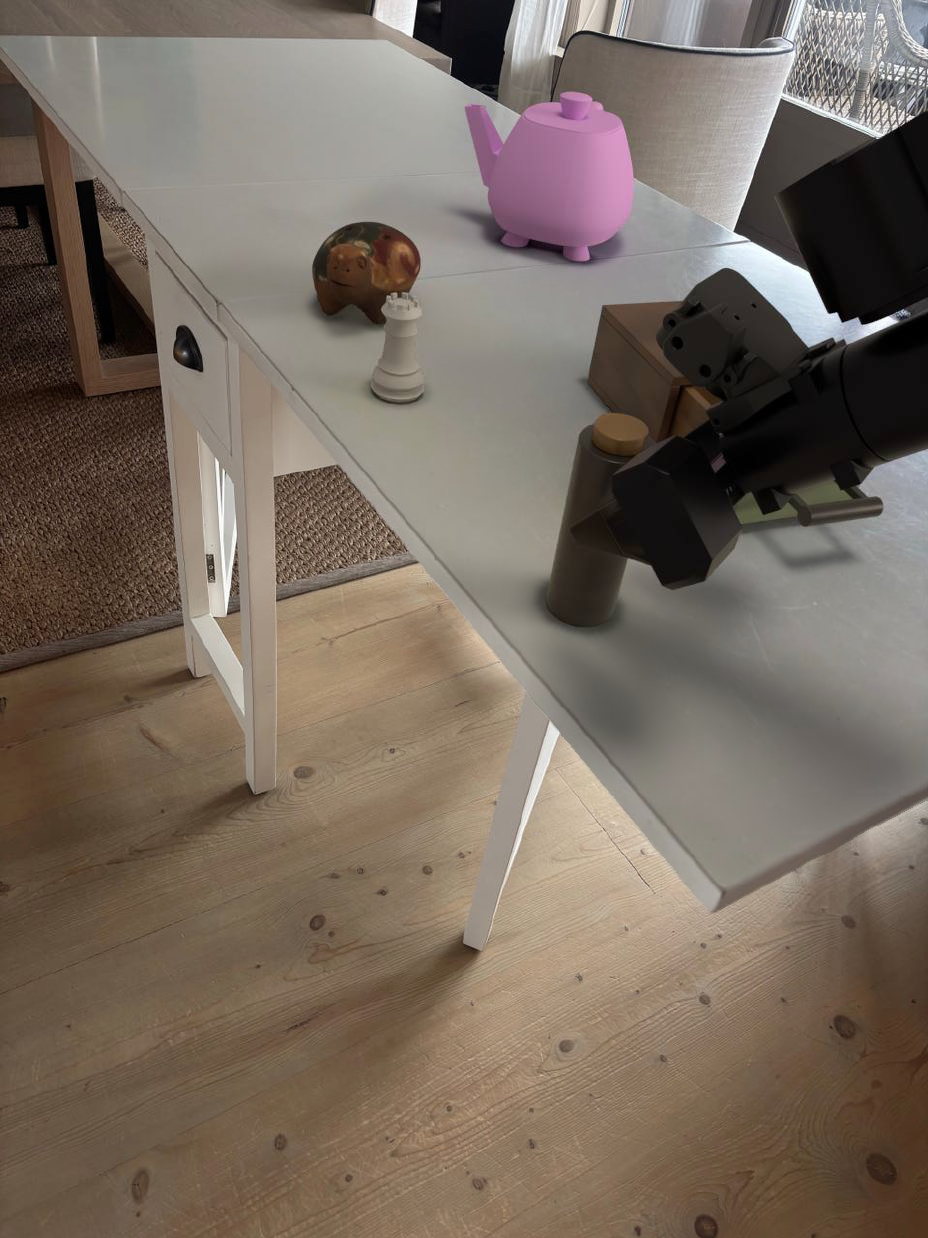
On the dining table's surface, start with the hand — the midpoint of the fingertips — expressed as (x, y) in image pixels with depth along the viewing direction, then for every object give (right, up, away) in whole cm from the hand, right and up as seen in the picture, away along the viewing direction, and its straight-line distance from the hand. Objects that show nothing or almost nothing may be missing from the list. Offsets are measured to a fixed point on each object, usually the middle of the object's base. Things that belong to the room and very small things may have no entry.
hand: (614, 501), depth 55 cm
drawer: (+14, +3, +16) cm, 22 cm away
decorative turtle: (-18, +23, +36) cm, 46 cm away
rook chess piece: (-14, +12, +24) cm, 31 cm away
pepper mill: (-1, -6, +6) cm, 8 cm away
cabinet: (+10, +11, +26) cm, 30 cm away
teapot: (0, +39, +56) cm, 68 cm away
